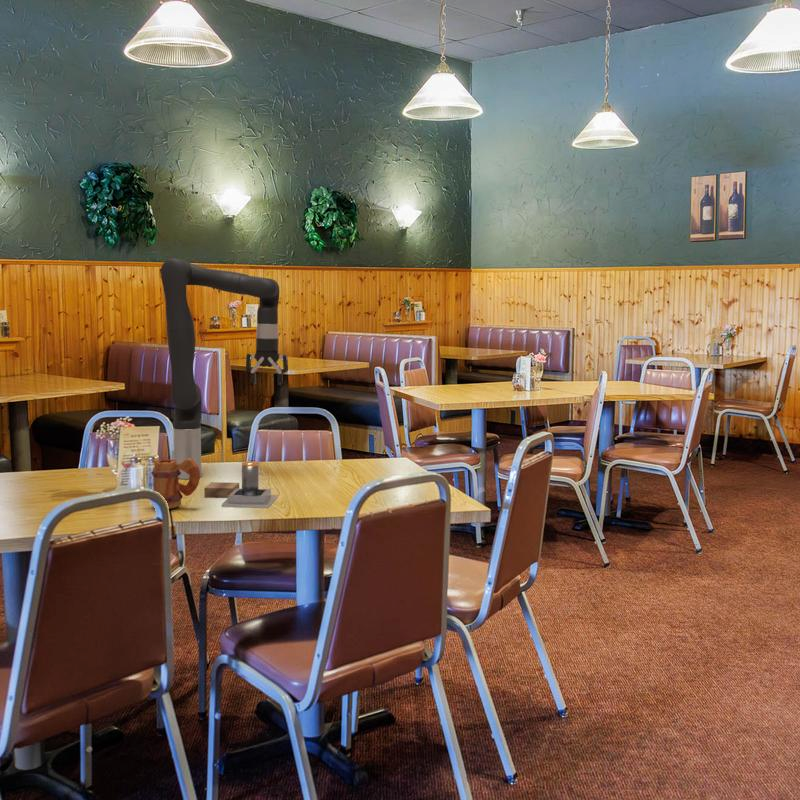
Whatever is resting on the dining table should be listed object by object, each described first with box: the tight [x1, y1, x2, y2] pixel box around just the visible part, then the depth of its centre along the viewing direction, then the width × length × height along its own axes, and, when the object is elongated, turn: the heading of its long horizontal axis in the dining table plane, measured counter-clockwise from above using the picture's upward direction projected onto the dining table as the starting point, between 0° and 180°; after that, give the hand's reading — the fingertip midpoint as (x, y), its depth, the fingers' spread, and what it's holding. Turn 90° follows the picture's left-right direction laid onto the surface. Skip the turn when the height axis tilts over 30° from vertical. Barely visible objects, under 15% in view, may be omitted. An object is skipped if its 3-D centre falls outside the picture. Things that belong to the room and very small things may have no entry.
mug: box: [150, 458, 201, 510], centre depth 265 cm, size 15×8×15 cm, turn 82°
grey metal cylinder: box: [241, 461, 260, 496], centre depth 274 cm, size 5×5×11 cm
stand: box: [203, 481, 240, 499], centre depth 285 cm, size 9×9×3 cm
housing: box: [221, 488, 278, 509], centre depth 275 cm, size 14×14×3 cm
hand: (266, 384), depth 309 cm, fingers open, 8 cm apart
